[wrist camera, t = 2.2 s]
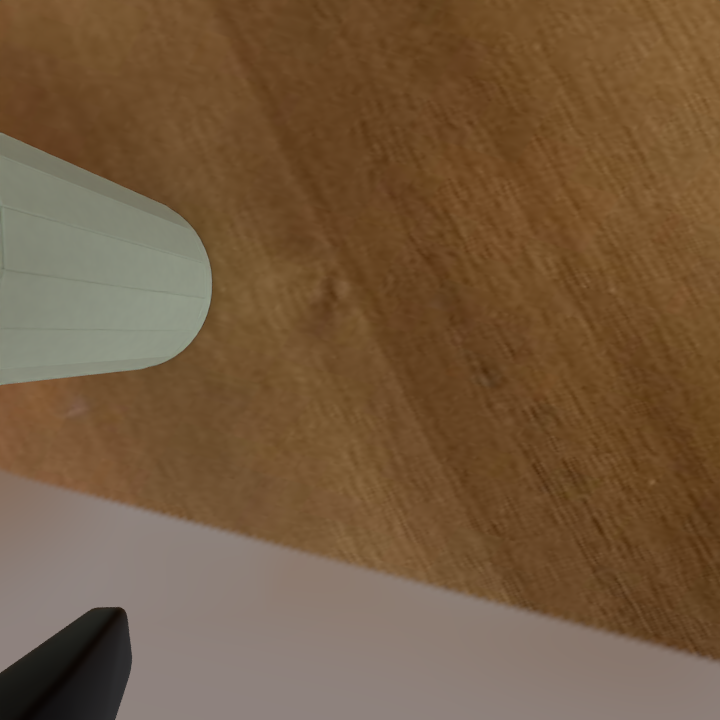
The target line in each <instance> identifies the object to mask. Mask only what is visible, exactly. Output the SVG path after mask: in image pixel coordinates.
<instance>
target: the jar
mask: <svg viewBox="0 0 720 720" xmlns="http://www.w3.org/2000/svg"><path fill="white" fill-rule="evenodd" d="M211 294H212V275H211V268H210V263H209V259H208V256H207V253H206V250H205V248H204V246H203V244H202V242H201V240H200V238H199V236H198V235H197V233H196V232H195V230H194V229H193V228H192V227H191V225H190V224H189V223H188V222H187V221H186V220H185V219H184V218H183V217H181V216H180V215H179V214H178V213H176V212H175V211H173V210H172V209H170V208H169V207H167V206H166V205H163V204H161V203H159V202H157V201H154V200H152V199H150V198H148V197H145V196H143V195H141V194H139V193H136V192H134V191H132V190H130V189H127V188H125V187H123V186H120V185H118V184H116V183H114V182H111V181H109V180H107V179H105V178H102V177H100V176H98V175H96V174H93V173H91V172H89V171H87V170H84V169H82V168H80V167H78V166H75V165H73V164H71V163H69V162H66V161H64V160H62V159H59V158H57V157H55V156H53V155H50V154H48V153H46V152H44V151H41V150H39V149H37V148H35V147H32V146H30V145H28V144H26V143H23V142H21V141H19V140H17V139H14V138H12V137H10V136H8V135H5V134H3V133H1V132H0V385H3V384H12V383H21V382H30V381H39V380H48V379H57V378H65V377H74V376H83V375H92V374H101V373H110V372H119V371H128V370H137V369H143V368H146V367H150V366H155V365H158V364H161V363H163V362H166V361H168V360H169V359H171V358H173V357H175V356H176V355H177V354H179V353H180V352H182V351H183V350H184V349H185V348H186V347H187V346H188V345H189V344H190V343H191V342H192V340H193V339H194V338H195V336H196V335H197V334H198V332H199V330H200V329H201V327H202V325H203V323H204V321H205V318H206V316H207V313H208V309H209V306H210V301H211Z"/></svg>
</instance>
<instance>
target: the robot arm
mask: <svg viewBox="0 0 720 720" xmlns="http://www.w3.org/2000/svg"><path fill="white" fill-rule="evenodd" d="M131 664H132V653H131V644H130V637H129V627H128V619H127V615H126V612H125V610H124V609H122V608H120V607H104V608H103V607H102V608H94V609H91V610H90V611H88V612H87V613H85V614H84V615H82V616H81V617H79V618H78V619H77V620H75V621H74V622H72V623H71V624H69V625H68V626H66V627H65V628H64V629H62V630H61V631H59V632H58V633H57V634H55V635H54V636H52V637H51V638H49V639H48V640H47V641H45V642H44V643H42V644H41V645H39V646H38V647H37V648H35V649H34V650H32V651H31V652H30V653H28V654H27V655H25V656H24V657H22V658H21V659H19V660H18V661H17V662H15V663H14V664H12V665H11V666H9V667H8V668H7V669H5V670H4V671H2V672H1V673H0V720H115V718H116V715H117V712H118V709H119V706H120V703H121V700H122V697H123V694H124V690H125V687H126V684H127V681H128V678H129V674H130V670H131Z"/></svg>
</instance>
